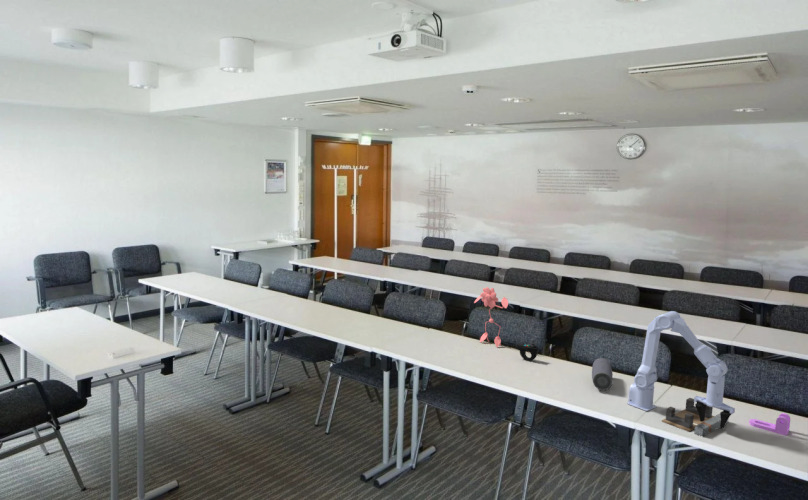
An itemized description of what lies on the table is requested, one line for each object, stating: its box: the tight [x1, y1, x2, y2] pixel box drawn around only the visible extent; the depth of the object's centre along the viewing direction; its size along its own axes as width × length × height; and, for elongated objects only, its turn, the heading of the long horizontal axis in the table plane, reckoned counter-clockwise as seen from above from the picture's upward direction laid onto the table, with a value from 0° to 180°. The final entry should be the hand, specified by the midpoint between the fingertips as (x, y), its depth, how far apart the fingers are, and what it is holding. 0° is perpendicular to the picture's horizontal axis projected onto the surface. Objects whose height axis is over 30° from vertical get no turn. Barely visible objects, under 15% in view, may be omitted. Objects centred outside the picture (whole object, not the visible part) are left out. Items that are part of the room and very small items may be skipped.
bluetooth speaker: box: [591, 357, 614, 391], centre depth 261 cm, size 23×9×10 cm, turn 161°
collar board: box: [661, 397, 715, 433], centre depth 224 cm, size 11×22×6 cm, turn 126°
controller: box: [515, 342, 539, 362], centre depth 295 cm, size 4×12×10 cm, turn 53°
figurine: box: [473, 286, 509, 348], centre depth 317 cm, size 15×26×35 cm, turn 40°
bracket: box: [748, 412, 791, 436], centre depth 217 cm, size 13×6×7 cm, turn 46°
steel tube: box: [694, 413, 730, 437], centre depth 217 cm, size 3×22×3 cm, turn 126°
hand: (712, 424), depth 217 cm, fingers open, 7 cm apart
